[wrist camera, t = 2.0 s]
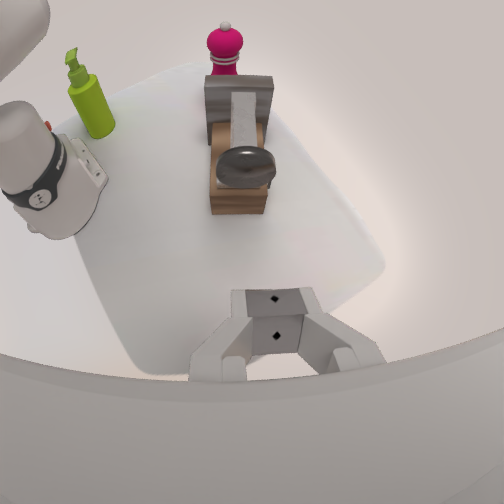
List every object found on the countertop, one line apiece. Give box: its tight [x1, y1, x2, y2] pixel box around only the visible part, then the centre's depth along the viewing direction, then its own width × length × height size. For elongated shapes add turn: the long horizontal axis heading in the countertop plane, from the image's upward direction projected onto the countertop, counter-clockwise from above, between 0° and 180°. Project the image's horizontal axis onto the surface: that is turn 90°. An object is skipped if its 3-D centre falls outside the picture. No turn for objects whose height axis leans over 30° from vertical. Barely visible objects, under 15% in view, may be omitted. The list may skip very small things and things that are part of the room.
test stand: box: [204, 75, 274, 214], centre depth 40 cm, size 17×10×14 cm, turn 2°
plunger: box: [216, 92, 276, 189], centre depth 32 cm, size 11×8×20 cm
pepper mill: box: [207, 22, 243, 75], centre depth 42 cm, size 7×7×20 cm
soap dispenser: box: [65, 47, 115, 139], centre depth 39 cm, size 6×7×20 cm
